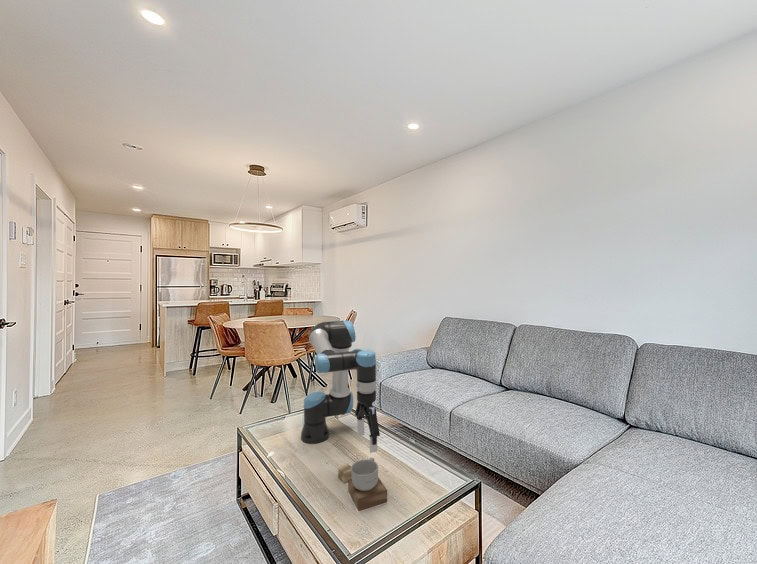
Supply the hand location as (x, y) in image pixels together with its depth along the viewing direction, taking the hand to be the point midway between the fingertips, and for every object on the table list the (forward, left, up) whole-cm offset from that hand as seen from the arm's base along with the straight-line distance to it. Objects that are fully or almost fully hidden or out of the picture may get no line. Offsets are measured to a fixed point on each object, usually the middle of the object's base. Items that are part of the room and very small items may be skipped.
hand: (366, 443), depth 131 cm
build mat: (-2, 0, -23) cm, 23 cm away
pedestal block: (0, 0, -22) cm, 22 cm away
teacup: (0, 0, -17) cm, 17 cm away
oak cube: (-15, -4, -23) cm, 27 cm away
